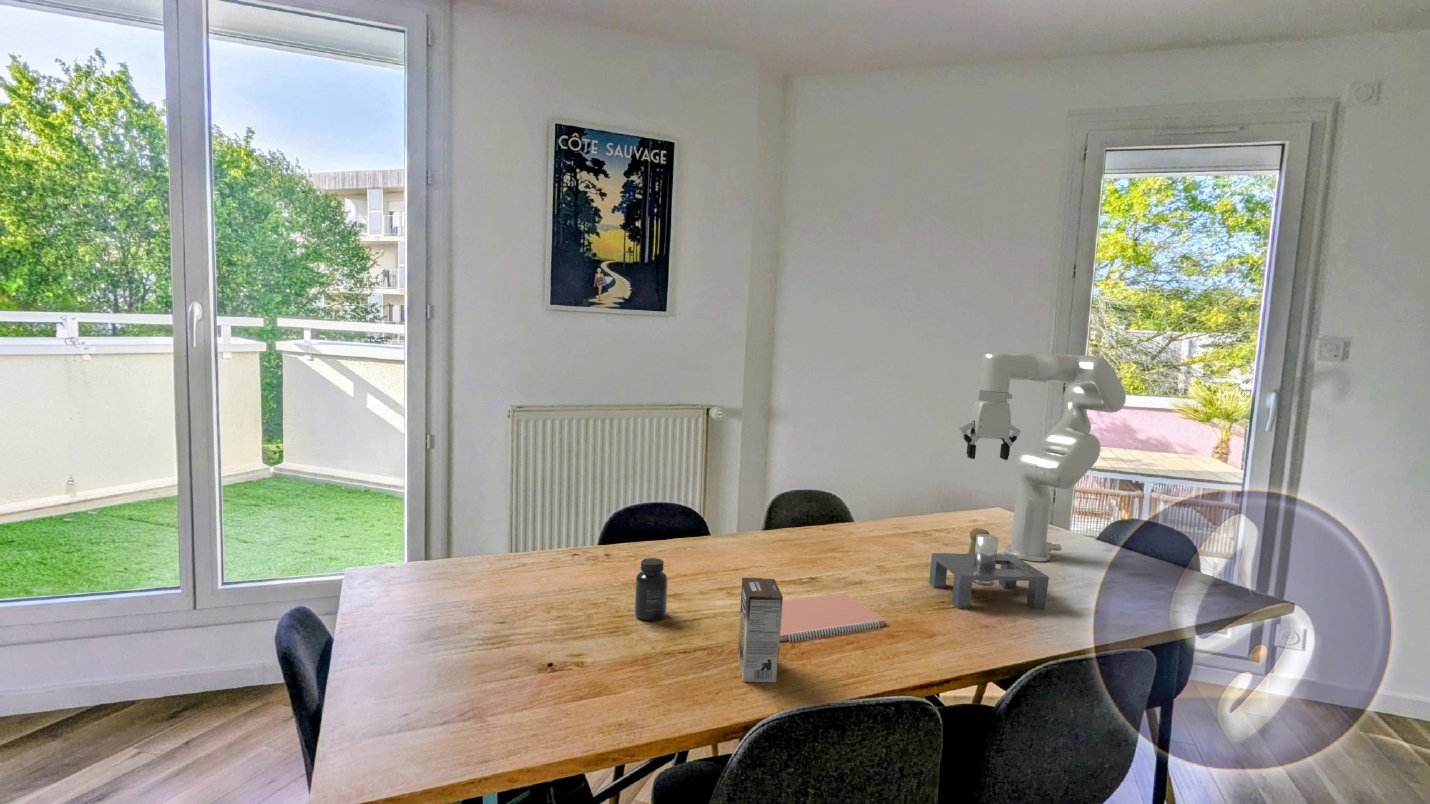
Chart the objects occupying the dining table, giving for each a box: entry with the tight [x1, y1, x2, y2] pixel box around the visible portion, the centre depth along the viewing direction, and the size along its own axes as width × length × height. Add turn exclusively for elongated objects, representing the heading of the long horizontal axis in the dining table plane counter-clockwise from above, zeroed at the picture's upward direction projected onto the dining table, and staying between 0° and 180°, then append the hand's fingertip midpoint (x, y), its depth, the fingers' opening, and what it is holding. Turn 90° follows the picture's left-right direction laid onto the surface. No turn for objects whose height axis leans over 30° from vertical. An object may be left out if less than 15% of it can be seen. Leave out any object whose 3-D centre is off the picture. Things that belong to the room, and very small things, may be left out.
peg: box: [972, 533, 999, 587], centre depth 173 cm, size 5×5×12 cm
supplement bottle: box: [634, 557, 668, 622], centre depth 150 cm, size 7×7×12 cm
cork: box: [967, 527, 991, 554], centre depth 194 cm, size 6×6×11 cm
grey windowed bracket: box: [928, 552, 1050, 610], centre depth 173 cm, size 22×16×8 cm
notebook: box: [780, 592, 887, 643], centre depth 154 cm, size 27×17×2 cm, turn 114°
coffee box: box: [737, 577, 784, 683], centre depth 129 cm, size 9×6×16 cm
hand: (987, 458), depth 195 cm, fingers open, 9 cm apart
